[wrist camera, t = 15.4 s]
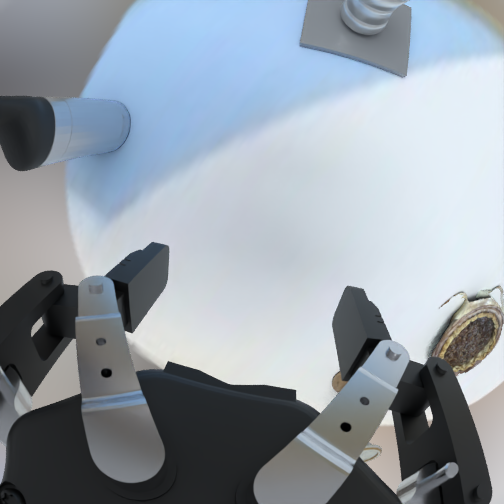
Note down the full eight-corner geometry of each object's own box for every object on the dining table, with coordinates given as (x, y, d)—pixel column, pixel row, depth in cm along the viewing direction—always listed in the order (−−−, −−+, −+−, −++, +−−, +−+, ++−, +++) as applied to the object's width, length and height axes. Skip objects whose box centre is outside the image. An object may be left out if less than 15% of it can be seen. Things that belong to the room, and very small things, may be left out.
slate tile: (299, 46, 30) (299, 42, 29) (312, -20, 24) (312, -24, 23) (402, 77, 29) (406, 75, 28) (408, 10, 24) (411, 7, 22)
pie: (505, 337, 44) (512, 348, 40) (424, 389, 54) (428, 403, 49) (499, 257, 37) (512, 268, 33) (397, 326, 47) (404, 342, 42)
